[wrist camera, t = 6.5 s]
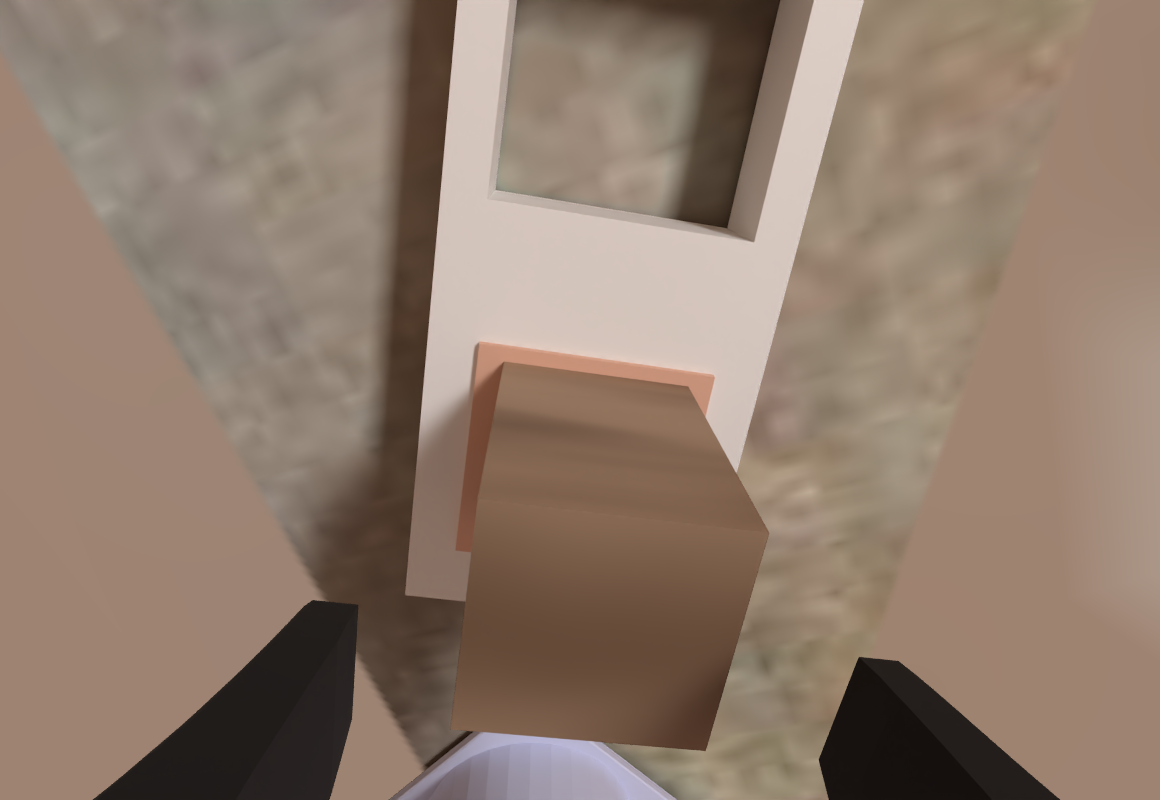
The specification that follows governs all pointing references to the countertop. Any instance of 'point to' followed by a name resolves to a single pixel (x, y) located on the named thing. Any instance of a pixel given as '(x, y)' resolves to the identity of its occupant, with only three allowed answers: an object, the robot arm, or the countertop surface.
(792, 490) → the countertop surface
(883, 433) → the countertop surface
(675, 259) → the socket block
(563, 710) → the plug
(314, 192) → the countertop surface
